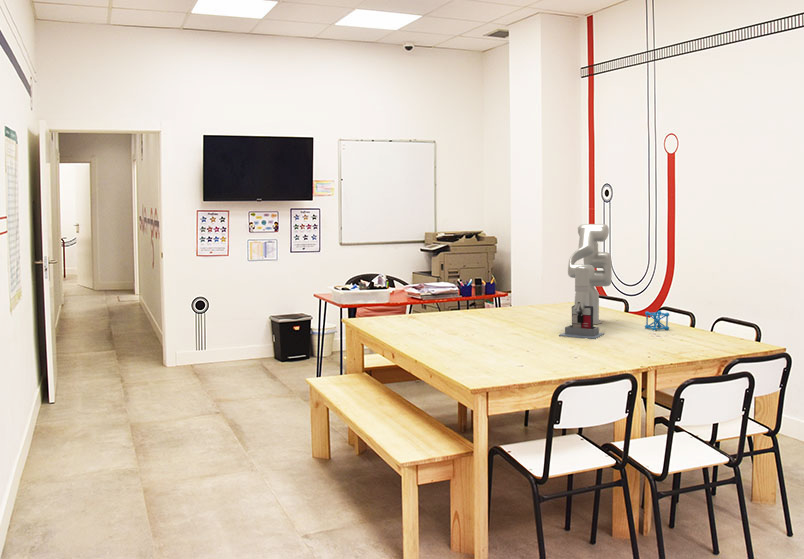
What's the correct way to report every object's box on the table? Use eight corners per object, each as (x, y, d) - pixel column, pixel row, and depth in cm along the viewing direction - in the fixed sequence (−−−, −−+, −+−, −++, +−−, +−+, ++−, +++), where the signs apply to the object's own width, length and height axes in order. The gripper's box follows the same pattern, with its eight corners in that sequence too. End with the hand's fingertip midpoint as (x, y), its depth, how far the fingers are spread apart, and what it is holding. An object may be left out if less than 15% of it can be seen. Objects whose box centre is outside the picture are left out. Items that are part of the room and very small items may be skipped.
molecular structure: (669, 330, 407) (670, 312, 406) (653, 331, 405) (654, 313, 404) (659, 327, 417) (660, 310, 416) (643, 328, 415) (644, 311, 414)
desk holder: (569, 331, 410) (569, 323, 409) (604, 334, 399) (604, 326, 399) (559, 336, 396) (559, 328, 396) (595, 339, 386) (595, 330, 385)
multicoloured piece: (571, 333, 400) (571, 306, 397) (574, 331, 403) (573, 305, 401) (591, 335, 394) (590, 307, 391) (593, 333, 397) (593, 306, 395)
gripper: (580, 286, 404) (580, 319, 406) (570, 290, 390) (569, 324, 392) (593, 287, 400) (593, 320, 402) (583, 290, 386) (583, 325, 388)
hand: (582, 321), depth 397 cm, fingers open, 4 cm apart
